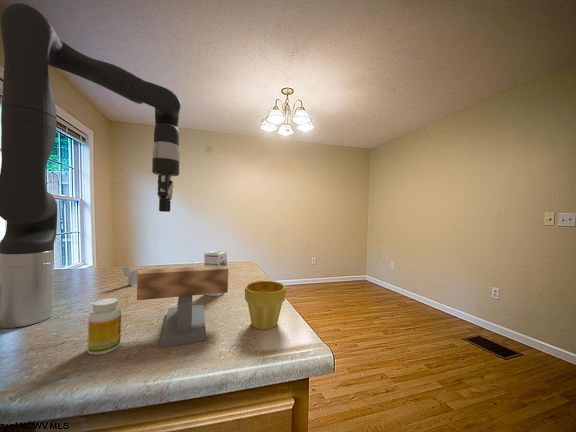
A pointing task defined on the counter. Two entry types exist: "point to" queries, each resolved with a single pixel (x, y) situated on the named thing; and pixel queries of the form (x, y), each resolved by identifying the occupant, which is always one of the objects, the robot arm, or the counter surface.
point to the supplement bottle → (104, 327)
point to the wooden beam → (181, 282)
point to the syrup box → (215, 262)
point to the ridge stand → (183, 324)
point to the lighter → (130, 275)
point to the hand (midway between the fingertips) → (164, 211)
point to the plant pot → (264, 302)
